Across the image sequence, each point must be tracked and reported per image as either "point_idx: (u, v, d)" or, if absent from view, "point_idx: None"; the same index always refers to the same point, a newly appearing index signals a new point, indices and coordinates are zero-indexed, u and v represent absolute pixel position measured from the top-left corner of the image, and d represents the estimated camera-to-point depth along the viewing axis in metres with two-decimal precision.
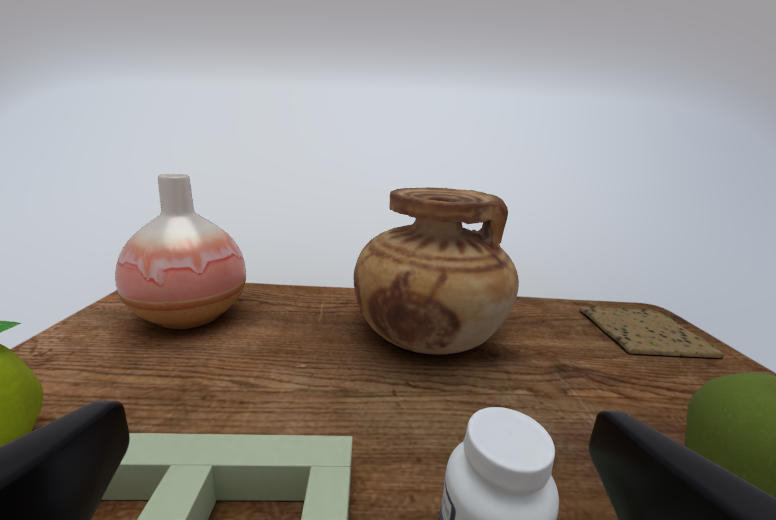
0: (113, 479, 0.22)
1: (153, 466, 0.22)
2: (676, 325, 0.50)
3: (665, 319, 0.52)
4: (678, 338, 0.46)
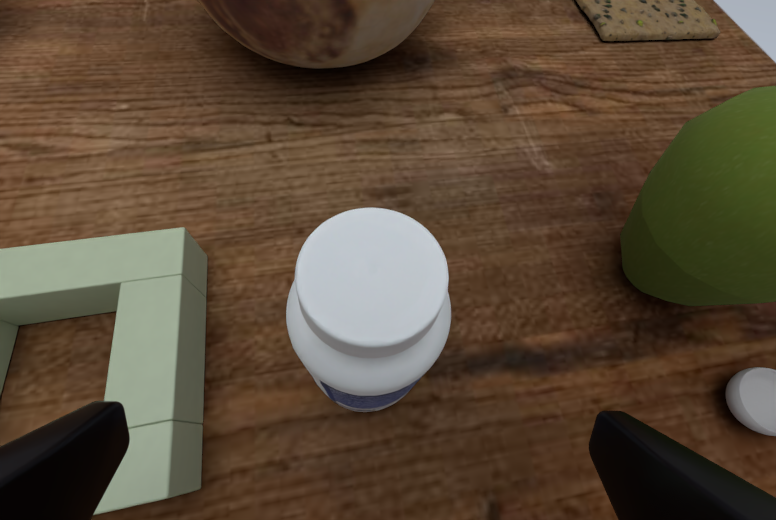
0: None
1: None
2: None
3: None
4: (674, 11, 0.33)
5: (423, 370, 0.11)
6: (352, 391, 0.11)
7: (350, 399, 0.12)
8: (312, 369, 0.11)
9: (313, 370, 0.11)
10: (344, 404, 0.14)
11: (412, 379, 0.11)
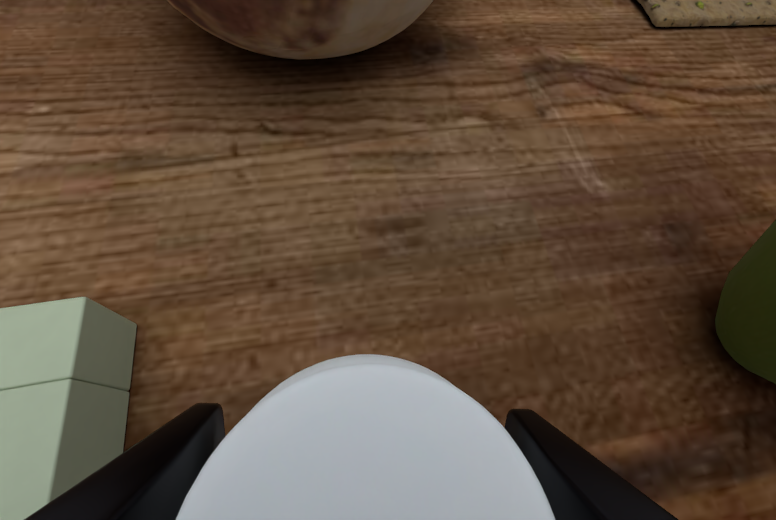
0: None
1: None
2: None
3: None
4: None
5: None
6: None
7: None
8: None
9: None
10: None
11: None
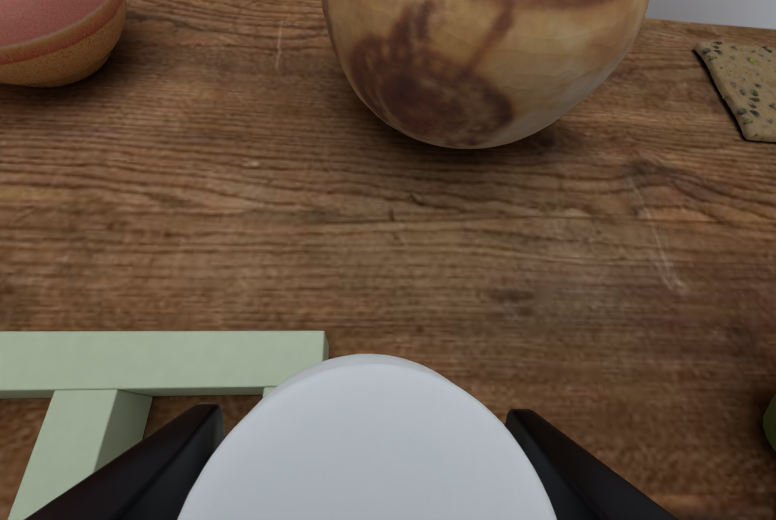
0: None
1: (29, 390, 0.15)
2: None
3: None
4: None
5: None
6: None
7: None
8: None
9: None
10: None
11: None
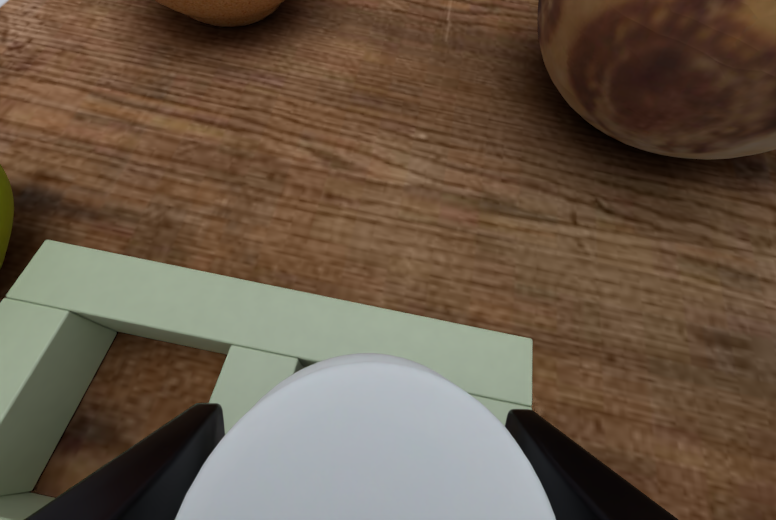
0: (152, 332, 0.14)
1: (203, 339, 0.13)
2: None
3: None
4: None
5: None
6: None
7: None
8: None
9: None
10: None
11: None
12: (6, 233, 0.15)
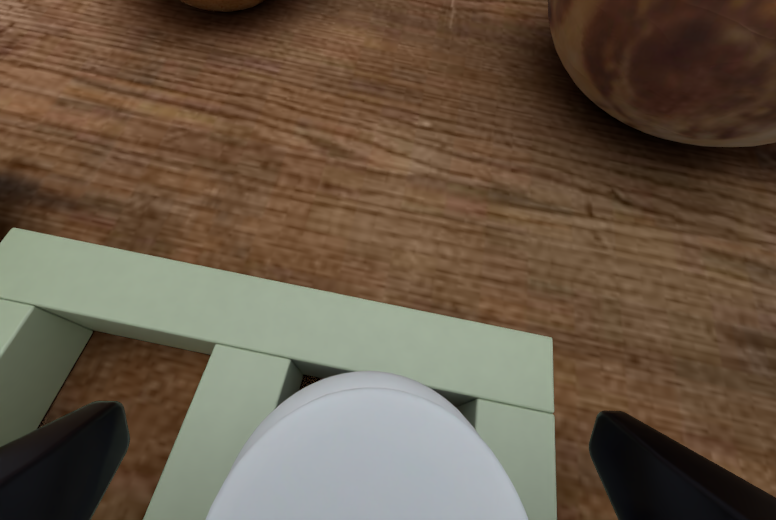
0: (129, 330, 0.13)
1: (185, 337, 0.12)
2: None
3: None
4: None
5: None
6: None
7: None
8: None
9: None
10: None
11: None
12: None
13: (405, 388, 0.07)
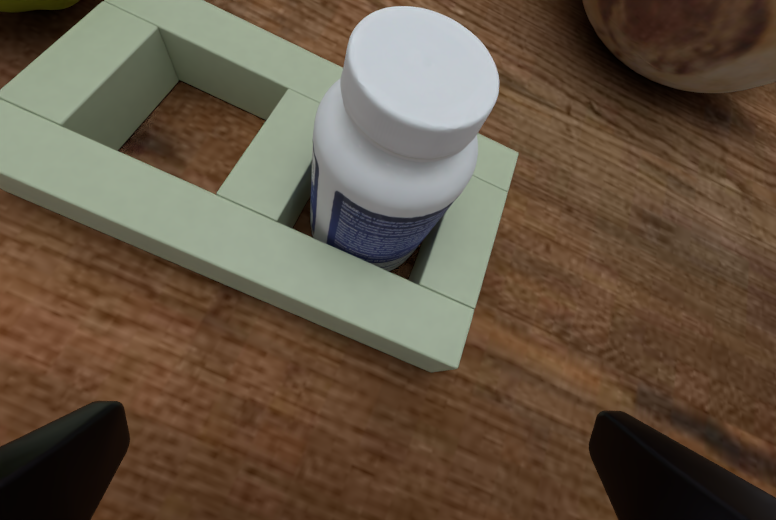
0: (218, 74, 0.17)
1: (266, 79, 0.16)
2: None
3: None
4: None
5: (441, 200, 0.11)
6: (369, 202, 0.11)
7: (356, 229, 0.12)
8: (334, 171, 0.10)
9: (335, 172, 0.10)
10: (341, 250, 0.15)
11: (429, 206, 0.11)
12: None
13: None
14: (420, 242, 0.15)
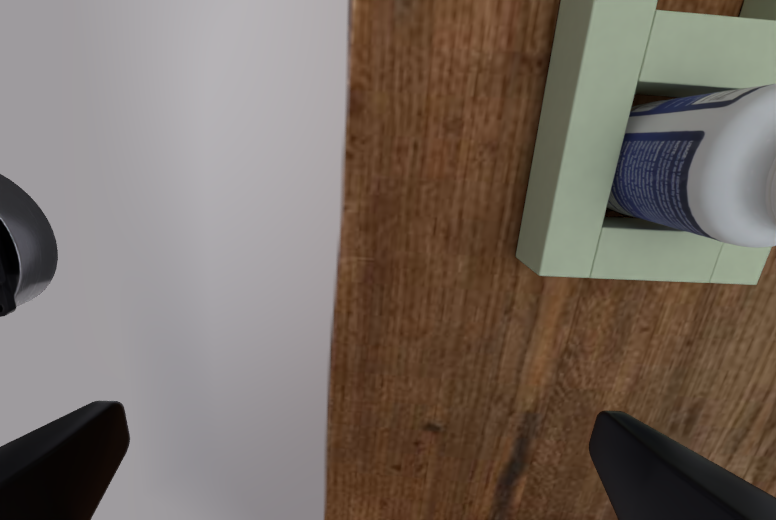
0: None
1: None
2: None
3: None
4: None
5: (715, 227, 0.12)
6: (701, 166, 0.12)
7: (656, 160, 0.14)
8: (730, 124, 0.11)
9: (729, 126, 0.11)
10: None
11: (707, 218, 0.12)
12: None
13: None
14: (641, 217, 0.16)
